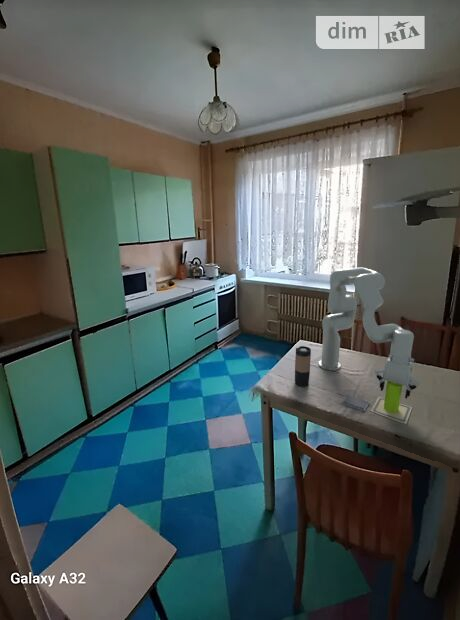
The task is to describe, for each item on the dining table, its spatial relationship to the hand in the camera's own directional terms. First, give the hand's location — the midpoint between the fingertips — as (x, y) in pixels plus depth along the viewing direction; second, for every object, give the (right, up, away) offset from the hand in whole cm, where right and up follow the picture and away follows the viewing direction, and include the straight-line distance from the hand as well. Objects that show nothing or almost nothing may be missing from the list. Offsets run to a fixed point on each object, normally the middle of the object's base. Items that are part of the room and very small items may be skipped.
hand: (394, 393), depth 128 cm
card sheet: (0, -8, +2) cm, 9 cm away
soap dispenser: (0, -8, +2) cm, 9 cm away
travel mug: (-35, -2, +26) cm, 43 cm away
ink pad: (-14, -7, +7) cm, 17 cm away
